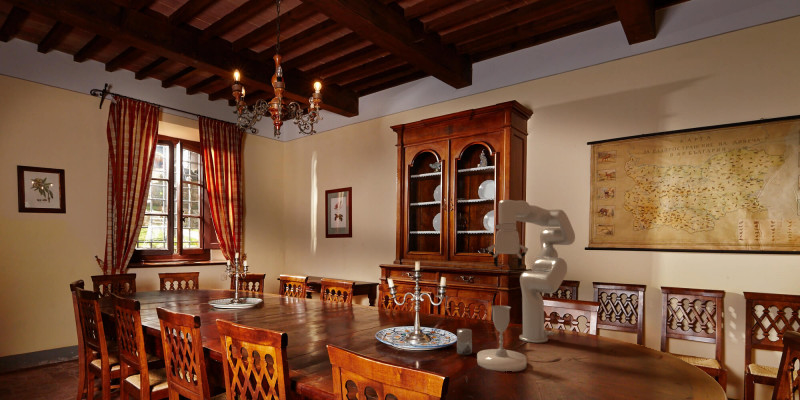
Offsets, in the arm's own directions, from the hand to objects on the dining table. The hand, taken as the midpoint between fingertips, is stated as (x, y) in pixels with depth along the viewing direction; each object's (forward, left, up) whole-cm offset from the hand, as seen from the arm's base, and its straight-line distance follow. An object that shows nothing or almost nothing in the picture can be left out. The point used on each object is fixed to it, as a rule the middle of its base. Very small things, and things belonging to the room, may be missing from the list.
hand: (507, 267), depth 186 cm
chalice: (+14, +21, -32) cm, 40 cm away
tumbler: (+22, +4, -34) cm, 41 cm away
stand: (+14, +21, -34) cm, 43 cm away
